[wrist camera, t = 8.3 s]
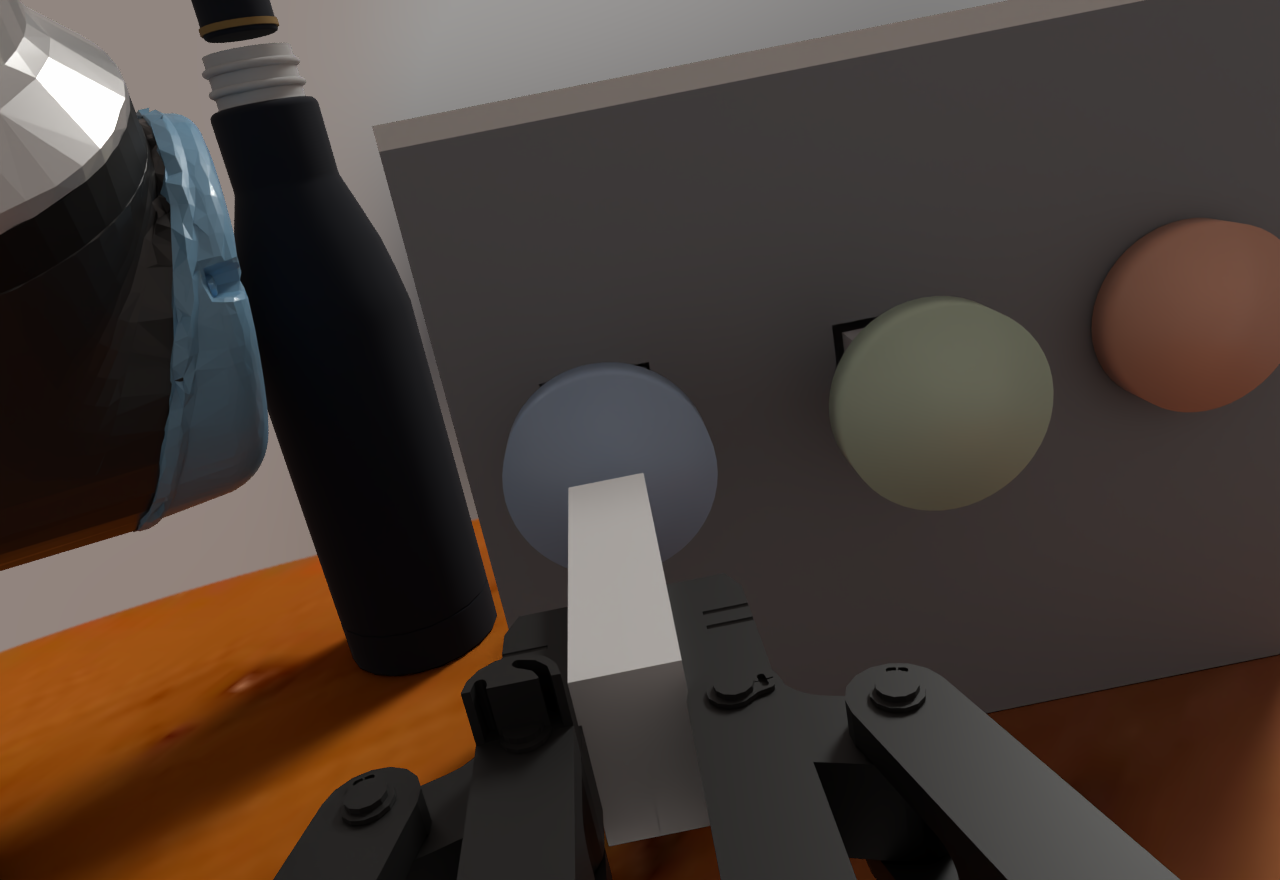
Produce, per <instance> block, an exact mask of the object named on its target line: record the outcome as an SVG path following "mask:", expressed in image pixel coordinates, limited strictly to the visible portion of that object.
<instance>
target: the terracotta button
mask: <svg viewBox="0 0 1280 880" xmlns="http://www.w3.org/2000/svg"><path fill="white" fill-rule="evenodd" d="M1091 331H1092V342H1093V346H1094V350H1095V354H1096V356H1097V359H1098V361H1099V363H1100V365H1101V367H1102V368H1103V370H1104V371H1105V373H1106V374H1107V375H1108V376H1109V378H1110V379H1111V380H1112V381H1114V382H1115V383H1116V384H1117V385H1118V386H1120V387H1121V388H1123V389H1124V390H1126V391H1128V392H1130V393H1132V394H1134V395H1136V396H1138V397H1140V398H1142V399H1144V400H1146V401H1148V402H1150V403H1152V404H1154V405H1156V406H1158V407H1161V408H1164V409H1167V410H1171V411H1177V412H1201V411H1208V410H1212V409H1215V408H1219V407H1222V406H1224V405H1227V404H1230V403H1232V402H1234V401H1236V400H1238V399H1240V398H1241V397H1243V396H1245V395H1246V394H1248V393H1249V392H1251V391H1252V390H1254V389H1255V388H1256V387H1257V386H1259V385H1260V384H1261V383H1262V382H1263V381H1264V380H1265V379H1266V378H1267V377H1268V376H1269V375H1270V374H1271V373H1272V372H1273V371H1274V370H1275V369H1276V368H1277V366H1278V365H1279V364H1280V239H1278V238H1277V237H1276V236H1274V235H1273V234H1271V233H1270V232H1268V231H1266V230H1264V229H1262V228H1259V227H1255V226H1252V225H1248V224H1242V223H1236V222H1230V221H1224V220H1217V219H1211V218H1190V219H1183V220H1179V221H1175V222H1172V223H1169V224H1166V225H1164V226H1161V227H1159V228H1157V229H1155V230H1153V231H1152V232H1150V233H1148V234H1146V235H1145V236H1143V237H1142V238H1141V239H1139V240H1138V241H1136V242H1135V243H1134V244H1133V245H1132V246H1131V247H1130V248H1128V249H1127V250H1126V251H1125V252H1124V253H1123V255H1122V256H1121V257H1120V258H1119V259H1118V260H1117V261H1116V263H1115V264H1114V265H1113V267H1112V268H1111V269H1110V271H1109V273H1108V274H1107V276H1106V278H1105V279H1104V281H1103V283H1102V285H1101V288H1100V290H1099V292H1098V295H1097V298H1096V301H1095V305H1094V309H1093V315H1092V327H1091Z"/></svg>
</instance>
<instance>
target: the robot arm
mask: <svg viewBox="0 0 1280 880" xmlns="http://www.w3.org/2000/svg"><path fill="white" fill-rule="evenodd" d="M240 277H241V269H240V265H239V261H238V257H237V252H236V245H235V237H234V233H233V229H232V225H231V221H230V218H229V214H228V210H227V206H226V203H225V199H224V196H223V192H222V189H221V186H220V182H219V179H218V176H217V173H216V170H215V167H214V164H213V161H212V158H211V156H210V153H209V150H208V148H207V146H206V144H205V141H204V139H203V137H202V134H201V133H200V131H199V129H198V128H197V126H196V125H195V124H194V123H193V122H192V121H191V120H190V119H188V118H186V117H184V116H182V115H178V114H163V113H161V112H159V111H157V110H154V111H151V112H149V108H147V109H142V110H138V112H137V113H136V112H135V110H134V107H133V104H132V101H131V99H130V96H129V93H128V89H127V86H126V83H125V81H124V79H123V77H122V75H121V72H120V70H119V68H118V67H117V66H116V64H115V63H114V62H113V60H112V59H111V58H110V57H109V56H108V54H107V53H106V52H104V51H103V50H102V49H101V48H100V47H99V46H98V45H97V44H95V43H94V42H92V41H90V40H88V39H87V38H85V37H84V36H82V35H80V34H79V33H77V32H74V31H73V30H71V29H69V28H67V27H65V26H63V25H61V24H60V23H57V22H56V21H54V20H52V19H50V18H48V17H46V16H44V15H42V14H40V13H39V12H36V11H35V10H33V9H31V8H29V7H27V6H25V5H24V4H23V3H22V2H21V0H0V571H2V570H5V569H9V568H12V567H15V566H19V565H22V564H25V563H29V562H32V561H35V560H39V559H42V558H45V557H48V556H52V555H55V554H59V553H61V552H65V551H69V550H72V549H75V548H79V547H82V546H85V545H89V544H92V543H95V542H99V541H102V540H105V539H108V538H112V537H115V536H119V535H122V534H125V533H128V532H132V531H133V532H135V531H142V530H146V529H149V528H151V527H152V526H154V525H156V524H157V523H158V522H159V521H160V520H161V519H162V518H164V517H166V516H169V515H172V514H175V513H177V512H180V511H182V510H185V509H188V508H190V507H193V506H196V505H198V504H201V503H204V502H206V501H209V500H211V499H214V498H217V497H219V496H222V495H225V494H227V493H230V492H232V491H234V490H236V489H237V488H239V487H240V486H242V485H243V484H245V483H246V482H247V481H248V480H249V479H250V478H251V477H252V476H253V475H254V474H255V473H256V471H257V470H258V468H259V467H260V465H261V463H262V461H263V458H264V456H265V453H266V449H267V443H268V411H267V401H266V393H265V386H264V378H263V372H262V366H261V360H260V353H259V348H258V342H257V337H256V332H255V327H254V322H253V318H252V313H251V309H250V304H249V299H248V296H247V294H246V291H245V288H244V286H243V285H242V283H241V281H240ZM502 656H503V658H502V659H501V660H498V661H495V662H493V663H491V664H489V665H488V666H486V667H484V668H482V669H480V670H479V671H478V672H476V673H475V674H474V675H473V676H472V677H471V678H470V679H469V680H468V681H467V682H466V684H465V686H464V688H463V690H462V692H461V696H462V699H463V703H464V706H465V709H466V713H467V716H468V719H469V723H470V726H471V729H472V733H473V736H474V739H475V743H476V751H475V757H474V758H473V759H472V760H471V761H469V762H468V763H467V764H465V765H464V766H462V767H461V768H459V769H457V770H455V771H453V772H451V773H449V774H447V775H445V776H443V777H441V778H438V779H436V780H434V781H431V782H429V783H427V784H424V785H422V786H420V783H419V780H418V777H417V776H416V775H415V774H413V773H412V772H410V771H409V770H407V769H403V768H395V767H387V768H382V769H376V770H371V771H369V772H366V773H364V774H361V775H359V776H357V777H354V778H352V779H351V780H349V781H348V782H346V783H345V784H343V785H342V786H340V787H339V788H338V789H336V790H335V791H334V792H333V793H332V794H331V795H330V796H329V798H328V799H327V800H326V801H325V802H324V803H323V804H322V806H321V807H320V809H319V810H318V812H317V813H316V815H315V816H314V818H313V819H312V821H311V822H310V824H309V826H308V827H307V829H306V830H305V832H304V833H303V835H302V836H301V838H300V839H299V841H298V842H297V844H296V846H295V847H294V849H293V850H292V852H291V853H290V855H289V856H288V858H287V859H286V861H285V862H284V864H283V865H282V867H281V869H280V870H279V872H278V873H277V875H276V876H275V878H274V879H273V880H612V875H611V871H610V867H609V863H608V859H607V855H606V851H605V846H604V830H605V834H606V838H607V842H608V845H609V846H613V845H618V844H623V843H628V842H633V841H638V840H643V839H648V838H653V837H658V836H663V835H667V834H672V833H677V832H682V831H687V830H692V829H697V828H702V827H707V826H711V831H712V836H713V841H714V847H715V852H716V857H717V862H718V867H719V872H720V878H721V880H857V879H856V876H855V873H854V871H853V868H852V865H851V863H850V860H849V858H859V859H866V861H867V864H868V866H869V868H870V870H871V872H872V874H873V875H874V877H875V878H876V879H877V880H1180V879H1179V878H1178V877H1176V876H1175V875H1174V874H1173V873H1172V872H1171V871H1169V870H1168V869H1167V868H1166V867H1165V866H1164V865H1162V864H1161V863H1160V862H1159V861H1158V860H1157V859H1155V858H1154V857H1153V856H1152V855H1151V854H1150V853H1148V852H1147V851H1146V850H1145V849H1144V848H1143V847H1141V846H1140V845H1139V844H1138V843H1137V842H1136V841H1134V840H1133V839H1132V838H1131V837H1130V836H1129V835H1127V834H1126V833H1125V832H1124V831H1123V830H1121V829H1120V828H1119V827H1118V826H1117V825H1116V824H1114V823H1113V822H1112V821H1111V820H1110V819H1109V818H1107V817H1106V816H1105V815H1104V814H1103V813H1102V812H1100V811H1099V810H1098V809H1097V808H1096V807H1095V806H1093V805H1092V804H1091V803H1090V802H1089V801H1088V800H1086V799H1085V798H1084V797H1083V796H1082V795H1081V794H1079V793H1078V792H1077V791H1076V790H1075V789H1074V788H1072V787H1071V786H1070V785H1069V784H1068V783H1067V782H1065V781H1064V780H1063V779H1062V778H1061V777H1060V776H1058V775H1057V774H1056V773H1055V772H1054V771H1052V770H1051V769H1050V768H1049V767H1048V766H1047V765H1045V764H1044V763H1043V762H1042V761H1041V760H1040V759H1038V758H1037V757H1036V756H1035V755H1034V754H1033V753H1031V752H1030V751H1029V750H1028V749H1027V748H1026V747H1024V746H1023V745H1022V744H1021V743H1020V742H1019V741H1017V740H1016V739H1015V738H1014V737H1013V736H1012V735H1010V734H1009V733H1008V732H1007V731H1006V730H1005V729H1003V728H1002V727H1001V726H1000V725H999V724H998V723H996V722H995V721H994V720H993V719H992V718H991V717H989V716H988V715H987V714H986V713H985V712H983V711H982V710H981V709H980V708H979V707H978V706H976V705H975V704H974V703H973V702H972V701H971V700H969V699H968V698H967V697H966V696H965V695H964V694H962V693H961V692H960V691H959V690H958V689H957V688H955V687H954V686H953V685H952V684H951V683H950V682H948V681H947V680H946V679H945V678H944V677H942V676H941V675H939V674H937V673H935V672H934V671H932V670H930V669H929V668H925V667H921V666H917V665H913V664H909V663H888V664H884V665H879V666H875V667H870V668H868V669H867V670H865V671H863V672H861V673H859V674H857V675H856V676H855V677H854V678H853V679H852V680H851V682H850V683H849V684H848V685H847V687H846V694H845V696H823V695H813V694H808V693H804V692H800V691H797V690H795V689H792V688H790V687H788V686H786V685H785V684H784V682H783V681H782V680H781V678H780V677H779V676H778V674H777V673H776V672H774V671H773V670H772V668H771V665H770V662H769V660H768V657H767V654H766V651H765V649H764V646H763V643H762V640H761V638H760V635H759V632H758V629H757V627H756V624H755V621H754V620H753V616H752V613H751V610H750V607H749V606H748V602H747V599H746V596H745V594H744V591H743V588H742V586H741V585H740V584H739V583H737V582H736V581H734V580H733V579H732V578H730V577H729V576H727V575H726V574H725V573H722V574H717V575H712V576H707V577H702V578H697V579H692V580H687V581H682V582H677V583H672V584H667V585H666V581H665V576H664V571H663V566H662V561H661V556H660V551H659V547H658V542H657V537H656V532H655V527H654V522H653V517H652V512H651V507H650V503H649V498H648V493H647V488H646V483H645V478H644V473H639V474H634V475H629V476H624V477H619V478H614V479H609V480H604V481H599V482H594V483H589V484H584V485H579V486H574V487H569V488H568V607H563V608H558V609H553V610H548V611H544V612H539V613H534V614H529V615H524V616H519V617H518V618H517V620H516V621H515V622H514V624H513V625H512V626H511V628H510V629H509V630H508V632H507V633H506V634H505V636H504V644H503V652H502Z"/></svg>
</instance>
